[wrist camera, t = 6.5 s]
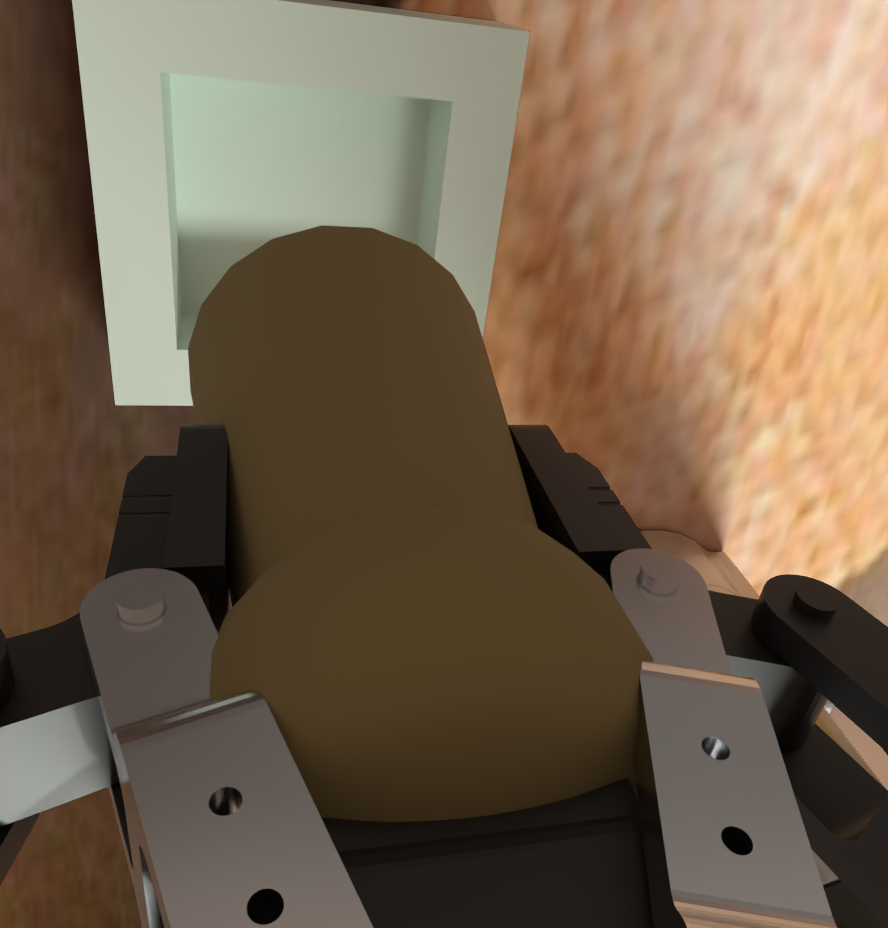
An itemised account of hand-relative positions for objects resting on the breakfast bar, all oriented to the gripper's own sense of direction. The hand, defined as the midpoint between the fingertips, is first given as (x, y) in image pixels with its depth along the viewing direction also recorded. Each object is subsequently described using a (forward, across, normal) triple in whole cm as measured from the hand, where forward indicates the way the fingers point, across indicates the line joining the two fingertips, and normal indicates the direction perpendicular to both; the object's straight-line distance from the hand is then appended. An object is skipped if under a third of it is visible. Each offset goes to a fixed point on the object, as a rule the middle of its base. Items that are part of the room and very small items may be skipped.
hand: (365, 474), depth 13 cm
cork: (+4, 0, 0) cm, 4 cm away
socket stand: (+17, 0, 0) cm, 17 cm away
